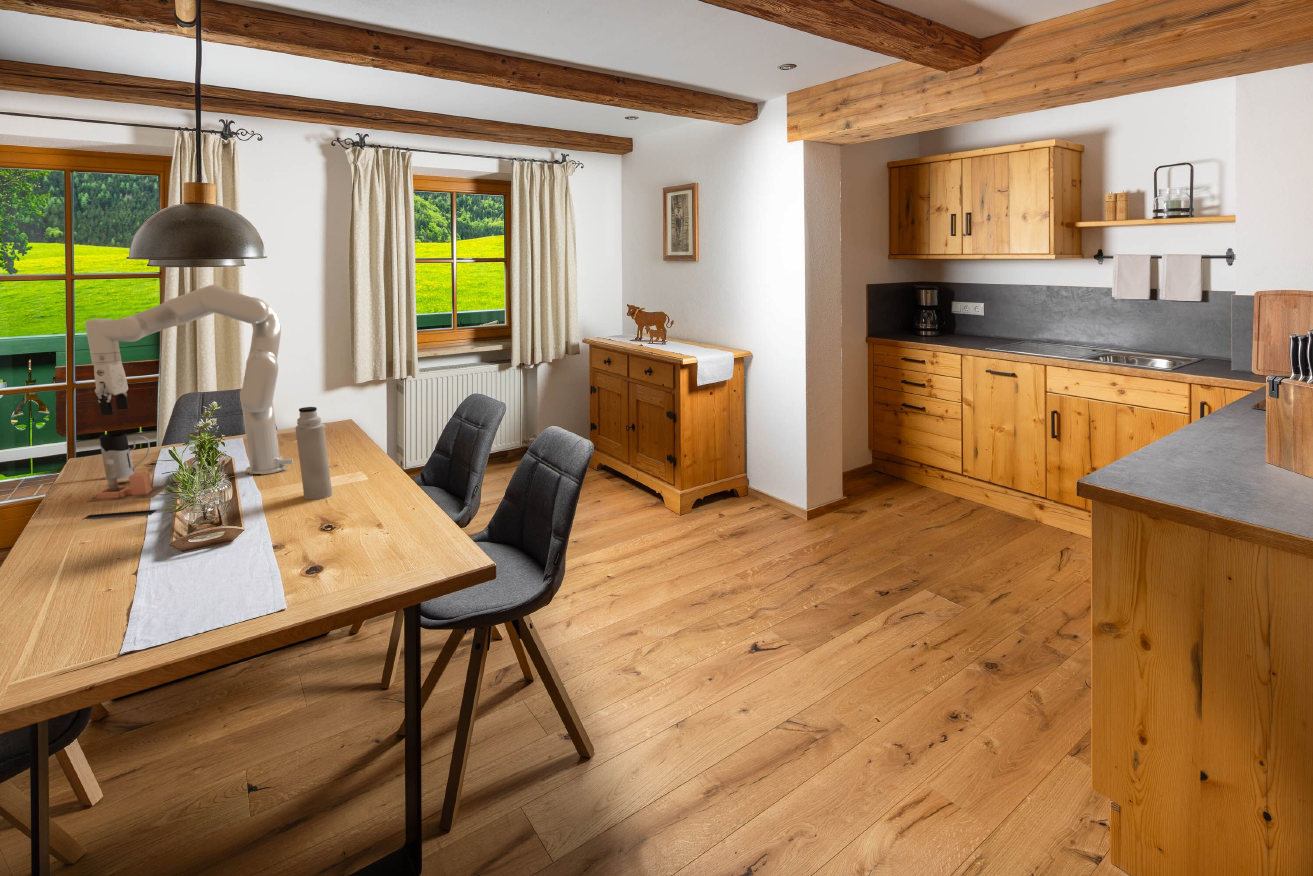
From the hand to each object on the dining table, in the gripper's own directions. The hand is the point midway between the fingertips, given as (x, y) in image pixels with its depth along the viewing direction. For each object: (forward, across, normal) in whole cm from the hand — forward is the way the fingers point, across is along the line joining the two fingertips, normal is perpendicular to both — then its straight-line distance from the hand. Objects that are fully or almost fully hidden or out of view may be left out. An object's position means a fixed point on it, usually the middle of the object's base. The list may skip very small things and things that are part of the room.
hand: (115, 411), depth 235 cm
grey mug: (+26, +14, +6) cm, 30 cm away
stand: (+25, -13, -6) cm, 29 cm away
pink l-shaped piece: (+24, -13, -5) cm, 28 cm away
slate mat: (+25, -27, -11) cm, 39 cm away
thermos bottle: (+25, -24, -63) cm, 72 cm away
